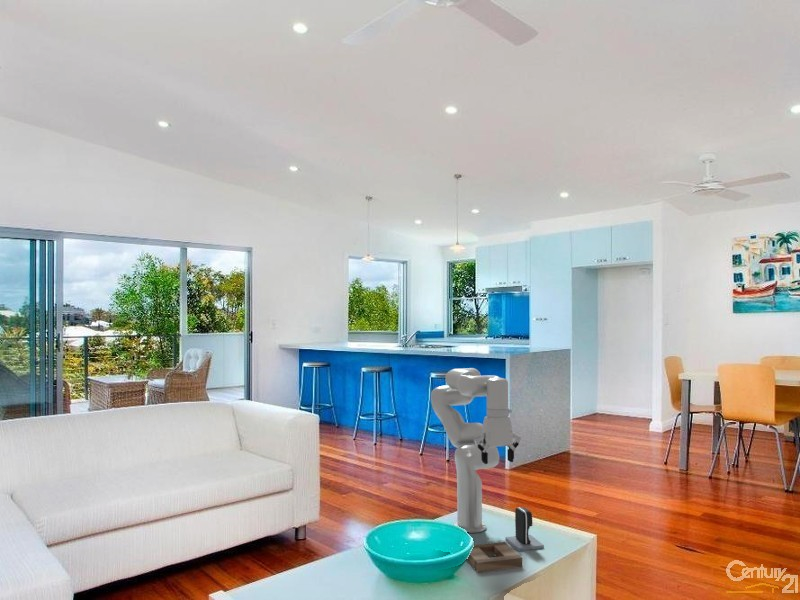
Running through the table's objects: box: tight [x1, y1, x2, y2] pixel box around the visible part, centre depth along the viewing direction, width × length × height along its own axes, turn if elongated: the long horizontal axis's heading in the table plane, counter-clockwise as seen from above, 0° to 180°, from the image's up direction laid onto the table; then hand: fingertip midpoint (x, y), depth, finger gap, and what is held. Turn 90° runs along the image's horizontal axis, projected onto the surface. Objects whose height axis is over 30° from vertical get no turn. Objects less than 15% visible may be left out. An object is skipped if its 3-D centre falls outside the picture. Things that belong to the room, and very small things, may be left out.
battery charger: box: [514, 506, 533, 544], centre depth 204 cm, size 7×4×11 cm, turn 16°
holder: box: [466, 541, 523, 573], centre depth 189 cm, size 14×16×3 cm
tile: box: [505, 534, 545, 552], centre depth 203 cm, size 10×10×1 cm
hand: (497, 462), depth 200 cm, fingers open, 9 cm apart
